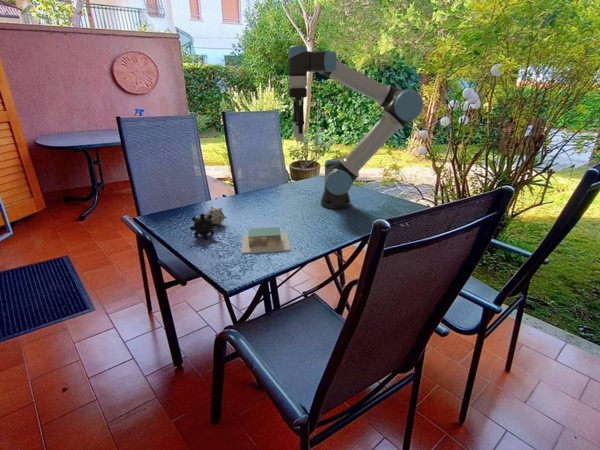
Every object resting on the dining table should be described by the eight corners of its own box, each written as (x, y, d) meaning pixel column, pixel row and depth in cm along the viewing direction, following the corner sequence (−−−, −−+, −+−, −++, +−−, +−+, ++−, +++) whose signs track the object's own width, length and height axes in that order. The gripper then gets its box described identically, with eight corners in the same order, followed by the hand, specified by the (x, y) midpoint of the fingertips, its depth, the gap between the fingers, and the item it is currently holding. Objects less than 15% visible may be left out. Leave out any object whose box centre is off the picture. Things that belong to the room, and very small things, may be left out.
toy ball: (220, 222, 145) (224, 224, 134) (204, 241, 144) (207, 246, 132) (199, 206, 142) (201, 208, 130) (183, 227, 140) (184, 230, 129)
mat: (286, 233, 140) (286, 232, 140) (290, 250, 126) (290, 249, 125) (243, 236, 138) (242, 234, 138) (241, 253, 124) (241, 252, 123)
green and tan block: (279, 226, 134) (248, 228, 133) (280, 235, 127) (248, 236, 126) (279, 236, 136) (249, 238, 135) (280, 245, 129) (249, 247, 127)
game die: (221, 231, 152) (233, 214, 150) (211, 232, 144) (223, 213, 142) (208, 219, 154) (219, 201, 153) (196, 219, 146) (209, 200, 144)
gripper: (286, 87, 153) (287, 135, 161) (292, 87, 130) (292, 143, 138) (303, 87, 154) (303, 135, 162) (311, 87, 131) (311, 143, 139)
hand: (298, 139), depth 150 cm, fingers open, 13 cm apart
